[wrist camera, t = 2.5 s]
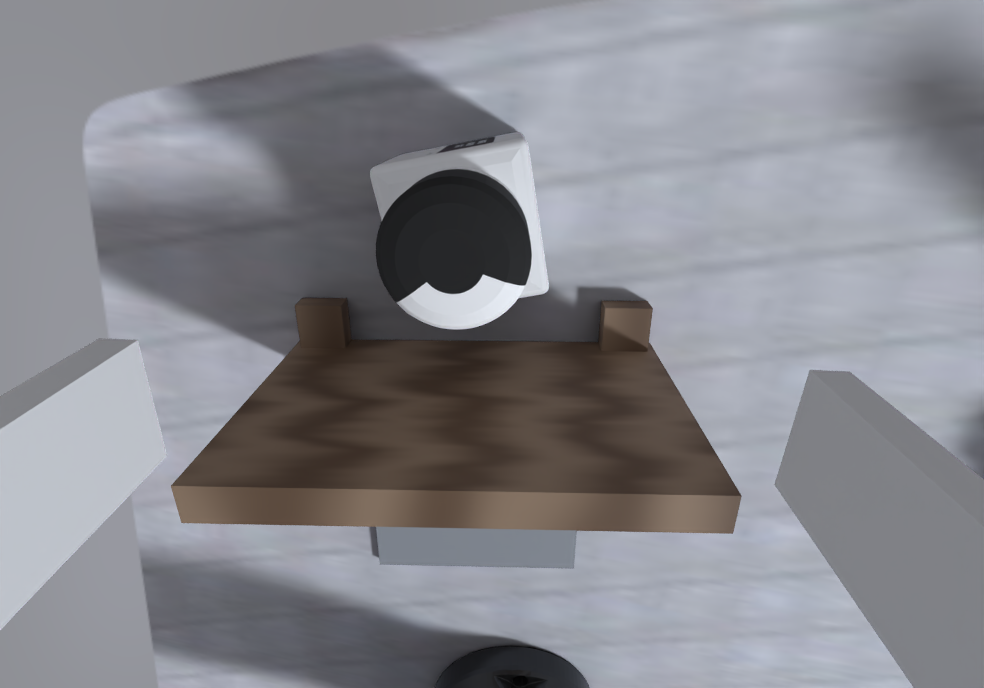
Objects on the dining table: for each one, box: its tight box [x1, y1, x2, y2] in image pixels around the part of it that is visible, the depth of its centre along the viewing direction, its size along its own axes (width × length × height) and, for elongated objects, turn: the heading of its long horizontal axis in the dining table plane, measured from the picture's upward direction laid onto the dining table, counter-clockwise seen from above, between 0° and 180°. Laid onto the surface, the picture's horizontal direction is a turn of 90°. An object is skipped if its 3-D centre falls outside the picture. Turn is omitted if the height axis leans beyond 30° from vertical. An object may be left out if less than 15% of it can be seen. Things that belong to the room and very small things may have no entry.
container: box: [370, 132, 549, 329], centre depth 28 cm, size 8×8×13 cm
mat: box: [376, 527, 577, 568], centre depth 42 cm, size 16×16×1 cm
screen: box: [171, 298, 741, 534], centre depth 31 cm, size 24×8×16 cm, turn 90°
